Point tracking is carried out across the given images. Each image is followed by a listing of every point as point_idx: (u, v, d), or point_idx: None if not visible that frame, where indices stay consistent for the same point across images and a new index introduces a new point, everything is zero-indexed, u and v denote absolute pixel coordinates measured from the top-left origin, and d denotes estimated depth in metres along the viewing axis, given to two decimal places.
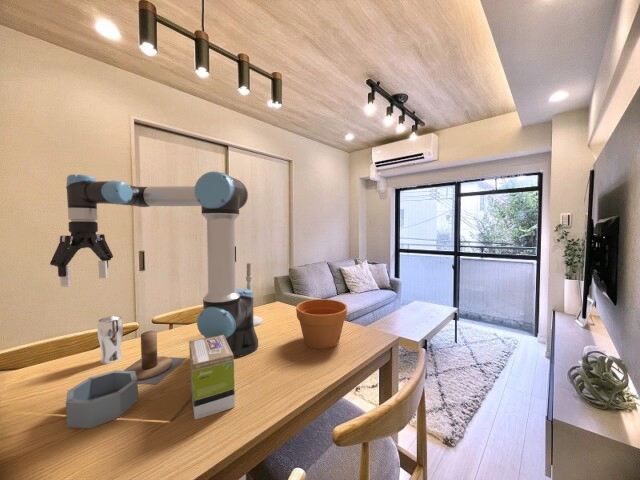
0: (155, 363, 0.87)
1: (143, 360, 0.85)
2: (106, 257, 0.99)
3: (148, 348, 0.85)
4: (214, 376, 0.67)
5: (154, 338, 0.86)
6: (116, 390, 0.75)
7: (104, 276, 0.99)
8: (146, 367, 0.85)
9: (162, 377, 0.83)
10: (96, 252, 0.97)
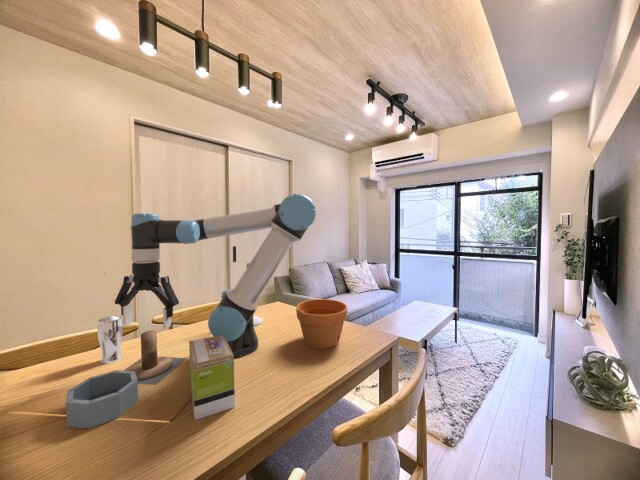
0: (155, 363, 0.87)
1: (143, 360, 0.85)
2: (165, 304, 0.85)
3: (148, 348, 0.85)
4: (214, 376, 0.67)
5: (154, 338, 0.86)
6: (116, 390, 0.75)
7: None
8: (146, 367, 0.85)
9: (162, 377, 0.83)
10: None
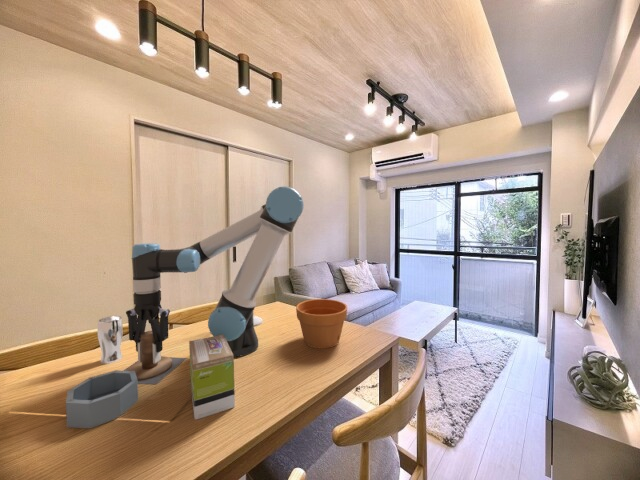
0: (155, 363, 0.87)
1: (143, 360, 0.85)
2: (155, 339, 0.86)
3: (148, 348, 0.85)
4: (214, 376, 0.67)
5: None
6: (116, 390, 0.75)
7: None
8: (146, 367, 0.85)
9: (162, 377, 0.83)
10: None
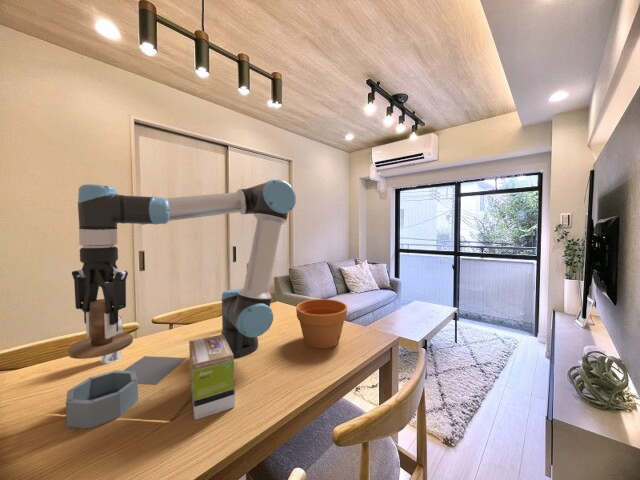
0: (109, 339, 0.69)
1: (92, 334, 0.67)
2: (108, 307, 0.67)
3: (98, 319, 0.67)
4: (214, 376, 0.67)
5: None
6: (116, 390, 0.75)
7: None
8: (96, 343, 0.67)
9: (162, 377, 0.83)
10: None
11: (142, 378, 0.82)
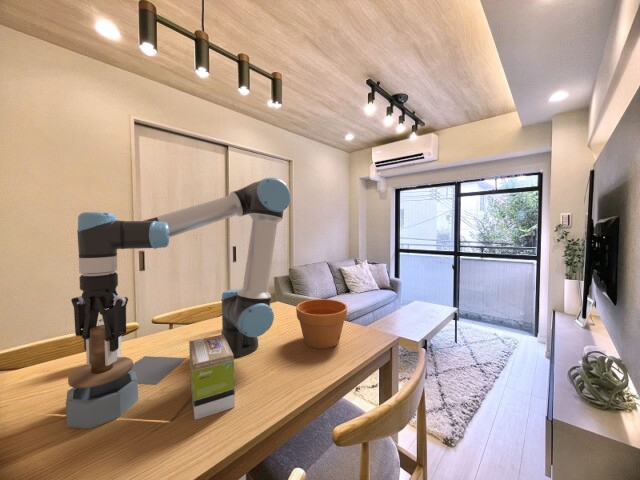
0: (109, 365, 0.69)
1: (92, 361, 0.67)
2: (108, 334, 0.67)
3: (98, 346, 0.67)
4: (214, 376, 0.67)
5: None
6: (116, 390, 0.75)
7: None
8: (96, 371, 0.67)
9: (162, 377, 0.83)
10: None
11: (142, 378, 0.82)
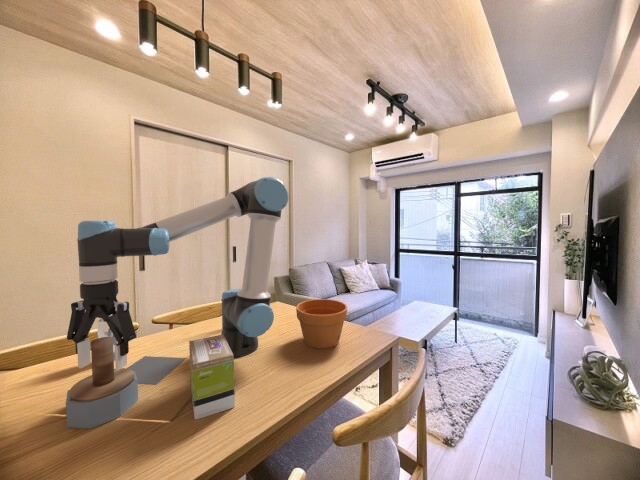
0: (110, 378, 0.69)
1: (93, 374, 0.67)
2: (118, 339, 0.67)
3: (99, 359, 0.67)
4: (214, 376, 0.67)
5: (109, 346, 0.68)
6: None
7: None
8: (98, 383, 0.67)
9: (162, 377, 0.83)
10: None
11: (142, 378, 0.82)
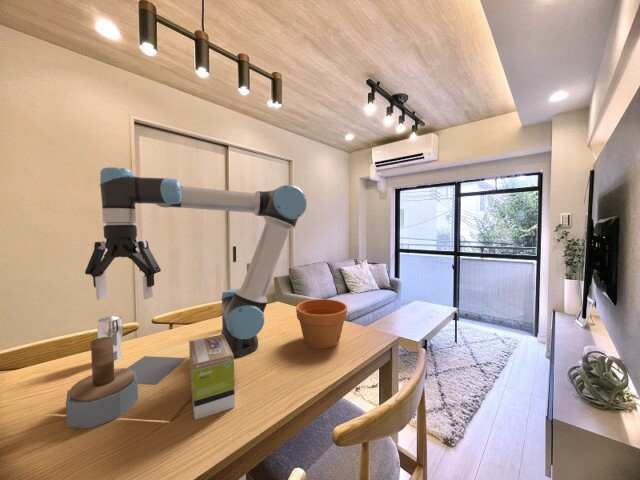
0: (110, 378, 0.69)
1: (93, 374, 0.67)
2: (145, 272, 0.74)
3: (99, 359, 0.67)
4: (214, 376, 0.67)
5: (109, 346, 0.68)
6: None
7: None
8: (98, 383, 0.67)
9: (162, 377, 0.83)
10: None
11: (142, 378, 0.82)
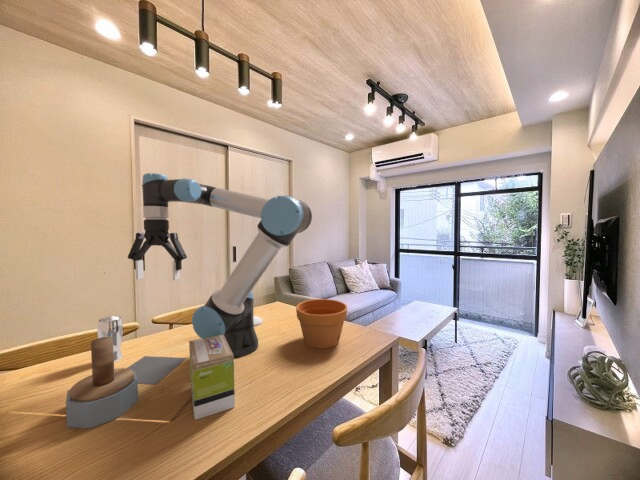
0: (110, 378, 0.69)
1: (93, 374, 0.67)
2: (174, 258, 0.92)
3: (99, 359, 0.67)
4: (214, 376, 0.67)
5: (109, 346, 0.68)
6: None
7: None
8: (98, 383, 0.67)
9: (162, 377, 0.83)
10: None
11: (142, 378, 0.82)
